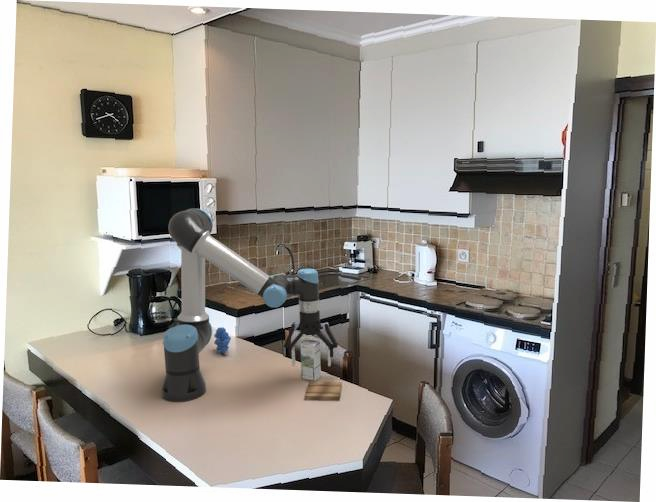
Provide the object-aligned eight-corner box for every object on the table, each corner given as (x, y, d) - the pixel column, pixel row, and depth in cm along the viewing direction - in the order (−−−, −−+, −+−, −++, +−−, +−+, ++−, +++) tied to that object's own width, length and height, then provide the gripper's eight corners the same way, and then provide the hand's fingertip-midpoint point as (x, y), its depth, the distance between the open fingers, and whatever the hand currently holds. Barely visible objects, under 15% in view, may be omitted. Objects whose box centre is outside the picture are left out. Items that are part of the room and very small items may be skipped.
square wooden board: (304, 400, 179) (304, 395, 179) (309, 385, 191) (308, 381, 191) (339, 400, 178) (339, 396, 178) (341, 386, 190) (341, 381, 190)
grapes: (237, 354, 224) (236, 327, 222) (223, 358, 220) (221, 331, 218) (225, 347, 233) (224, 321, 231) (211, 351, 229) (210, 324, 227)
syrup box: (321, 376, 199) (320, 339, 197) (314, 381, 194) (313, 344, 192) (308, 373, 202) (307, 337, 199) (301, 379, 196) (299, 342, 194)
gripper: (274, 313, 191) (277, 368, 195) (342, 313, 189) (343, 368, 192) (278, 308, 198) (280, 361, 202) (343, 307, 196) (345, 361, 200)
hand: (311, 365), depth 197 cm, fingers open, 13 cm apart
